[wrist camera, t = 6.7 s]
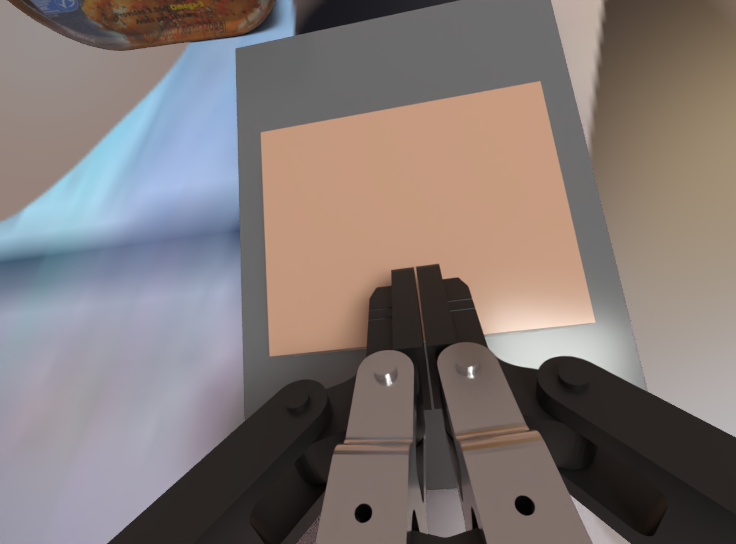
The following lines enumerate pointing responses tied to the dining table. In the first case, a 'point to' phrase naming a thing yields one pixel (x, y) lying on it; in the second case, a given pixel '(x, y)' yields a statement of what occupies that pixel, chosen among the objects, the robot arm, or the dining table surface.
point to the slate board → (407, 87)
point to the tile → (419, 217)
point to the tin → (146, 20)
